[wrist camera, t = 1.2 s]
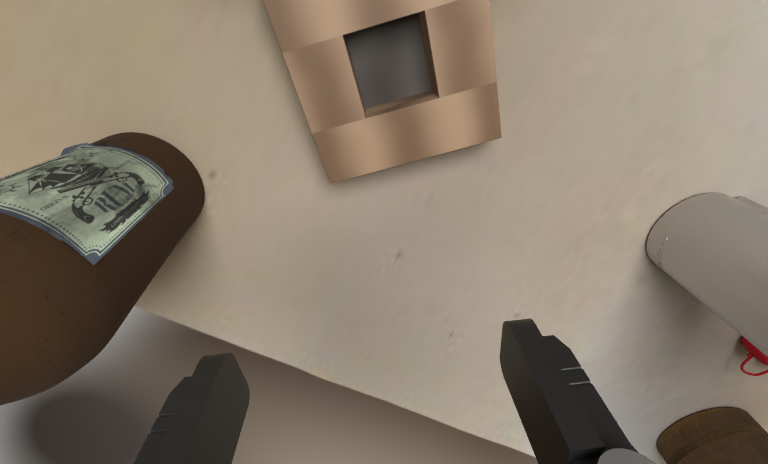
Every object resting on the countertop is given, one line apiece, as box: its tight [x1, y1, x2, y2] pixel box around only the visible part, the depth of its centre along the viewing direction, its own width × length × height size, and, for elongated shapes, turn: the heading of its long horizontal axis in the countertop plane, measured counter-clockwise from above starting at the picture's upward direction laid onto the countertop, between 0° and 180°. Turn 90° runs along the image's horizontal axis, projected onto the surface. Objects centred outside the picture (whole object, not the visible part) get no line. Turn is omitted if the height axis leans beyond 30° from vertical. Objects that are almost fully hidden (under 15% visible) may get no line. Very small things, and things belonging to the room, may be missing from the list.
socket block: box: [263, 0, 501, 183], centre depth 26 cm, size 14×14×4 cm
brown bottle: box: [0, 132, 204, 405], centre depth 21 cm, size 11×11×25 cm
